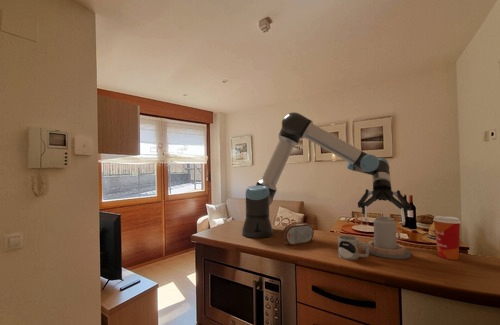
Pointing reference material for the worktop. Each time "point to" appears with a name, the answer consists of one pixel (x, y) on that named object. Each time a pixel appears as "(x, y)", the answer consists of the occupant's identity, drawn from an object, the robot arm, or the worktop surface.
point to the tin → (298, 233)
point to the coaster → (407, 255)
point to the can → (385, 233)
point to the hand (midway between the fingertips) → (384, 221)
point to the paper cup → (447, 236)
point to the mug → (350, 248)
